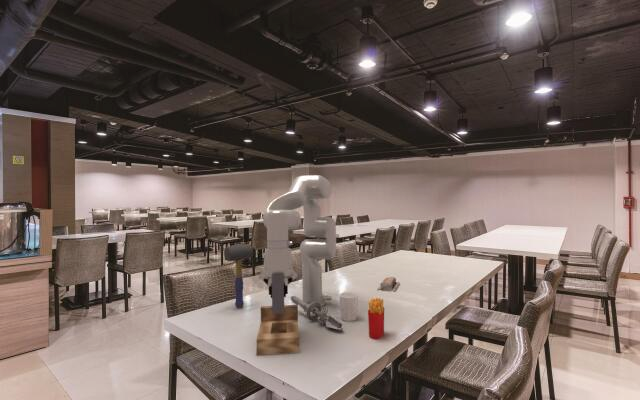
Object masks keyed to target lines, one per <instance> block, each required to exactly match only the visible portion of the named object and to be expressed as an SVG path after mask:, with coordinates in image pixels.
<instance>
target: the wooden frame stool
mask: <svg viewBox="0 0 640 400" xmlns="http://www.w3.org/2000/svg"><path fill="white" fill-rule="evenodd" d="M298 306H299V305H296V304H288V305H286V304H284V313H278V314H272V305H263V306H262V305H261V306H260V324H259V327H258V333H257V337H256V356H263V355H279V354H297V353H300V352H301V351H300V350H301V348H300V347H301V346H300V343H301V342H300V327H299V307H298Z"/></svg>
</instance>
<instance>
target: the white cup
mask: <svg viewBox="0 0 640 400" xmlns="http://www.w3.org/2000/svg"><path fill="white" fill-rule="evenodd" d="M338 297H339V308H340V309H339V311H340V319H341V321H345V322H354V321H356V320H357V318H358V306H359V304H358V303H359V295H358V294H357V293H355V292H347V291H346V292H341V293H339V295H338Z"/></svg>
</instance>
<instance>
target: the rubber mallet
mask: <svg viewBox="0 0 640 400" xmlns="http://www.w3.org/2000/svg"><path fill="white" fill-rule="evenodd" d="M253 248H254V247H252V245H251V244H250V243H248V244H234V245H230V246H229V245H228V246H226V247H225V248H224V251H223V252H224V253H223V254H224V255H223V256H224V259H225V260H226V261H227V262H235V263H236V265H235V266H236V271H235V272H236V273H235V274H236V276H235V282H234V290H235V303H234V306H235V308H236V309H242V308H243V306H244V304H245V303H244V293H243V292H244V279H243V269H242V268H243V266H242V263H243V262H242V261H244V260H248V259H251V258H252V257H253V255H254V249H253Z"/></svg>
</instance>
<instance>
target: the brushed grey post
mask: <svg viewBox="0 0 640 400" xmlns="http://www.w3.org/2000/svg"><path fill="white" fill-rule="evenodd" d="M284 283H285V282H284V274H273V275H272V298H271V306H272V314H278V313H284V305H285V297H284Z"/></svg>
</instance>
